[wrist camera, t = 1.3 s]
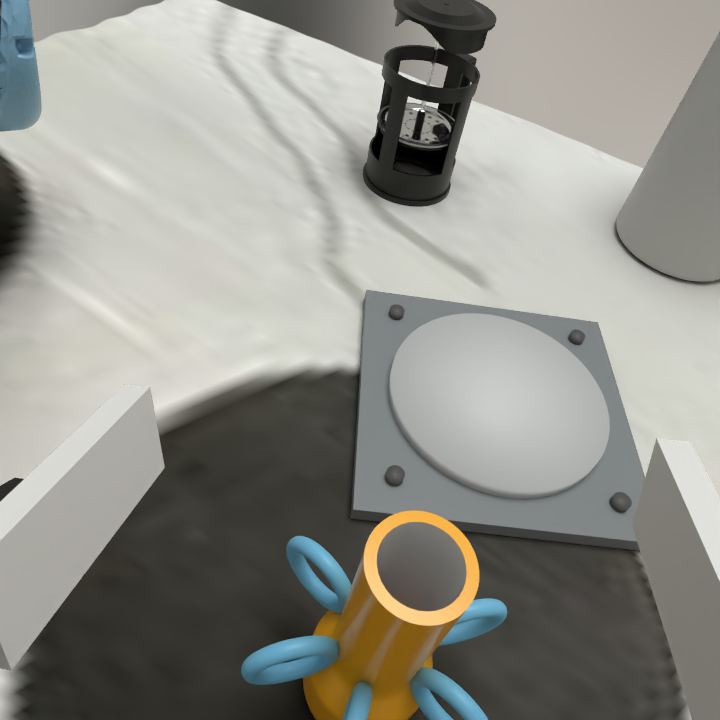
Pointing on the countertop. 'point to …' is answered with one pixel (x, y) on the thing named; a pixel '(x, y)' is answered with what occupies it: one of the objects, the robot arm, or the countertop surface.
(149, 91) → the countertop surface
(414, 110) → the french press
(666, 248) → the cylinder vase
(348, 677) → the orange ringed tube
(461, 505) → the grey plate with disc
